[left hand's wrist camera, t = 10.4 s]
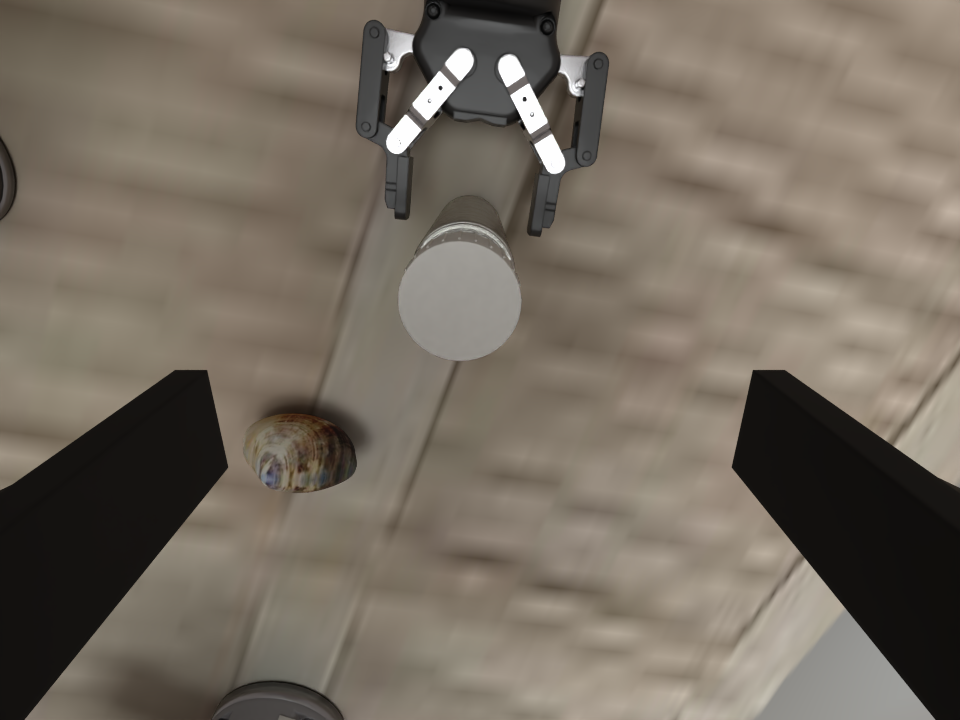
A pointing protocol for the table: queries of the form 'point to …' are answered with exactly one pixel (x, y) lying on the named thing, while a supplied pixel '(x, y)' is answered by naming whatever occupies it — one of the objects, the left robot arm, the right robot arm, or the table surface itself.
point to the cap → (460, 297)
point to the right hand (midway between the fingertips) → (468, 226)
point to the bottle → (469, 222)
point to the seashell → (299, 453)
